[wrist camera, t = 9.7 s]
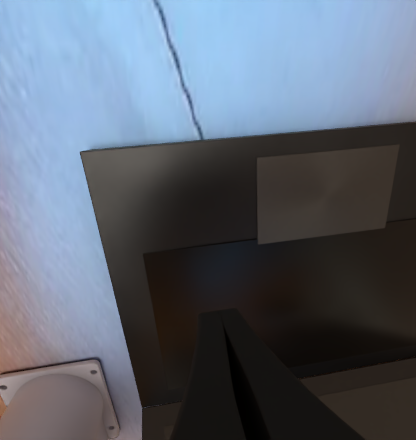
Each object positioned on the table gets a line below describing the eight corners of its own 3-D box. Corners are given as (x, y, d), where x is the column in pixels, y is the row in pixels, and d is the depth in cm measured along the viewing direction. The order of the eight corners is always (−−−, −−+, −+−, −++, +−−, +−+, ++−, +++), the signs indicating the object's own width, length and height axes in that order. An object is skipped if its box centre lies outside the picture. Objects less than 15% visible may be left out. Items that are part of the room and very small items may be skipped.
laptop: (89, 149, 16) (78, 151, 14) (506, 113, 19) (541, 111, 17) (144, 387, 23) (141, 409, 21) (439, 334, 26) (459, 349, 24)
